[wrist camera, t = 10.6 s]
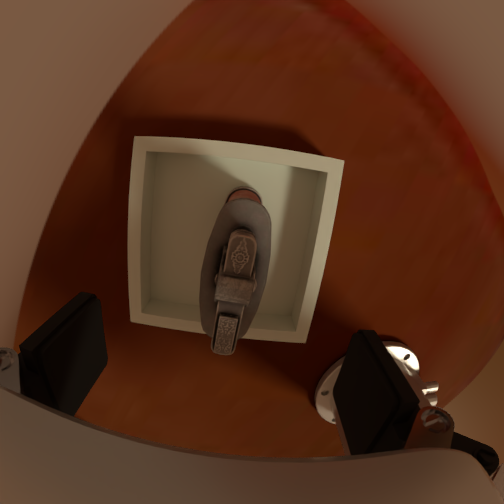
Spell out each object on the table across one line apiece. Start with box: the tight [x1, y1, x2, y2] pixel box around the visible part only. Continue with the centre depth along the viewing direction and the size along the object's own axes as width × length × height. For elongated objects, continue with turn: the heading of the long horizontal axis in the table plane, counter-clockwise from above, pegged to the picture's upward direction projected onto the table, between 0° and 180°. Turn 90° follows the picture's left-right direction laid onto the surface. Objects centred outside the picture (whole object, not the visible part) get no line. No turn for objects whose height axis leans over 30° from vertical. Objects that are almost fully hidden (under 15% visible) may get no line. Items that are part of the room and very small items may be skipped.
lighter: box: [199, 186, 272, 355], centre depth 17 cm, size 8×3×10 cm, turn 169°
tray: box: [128, 136, 344, 343], centre depth 21 cm, size 14×14×4 cm
